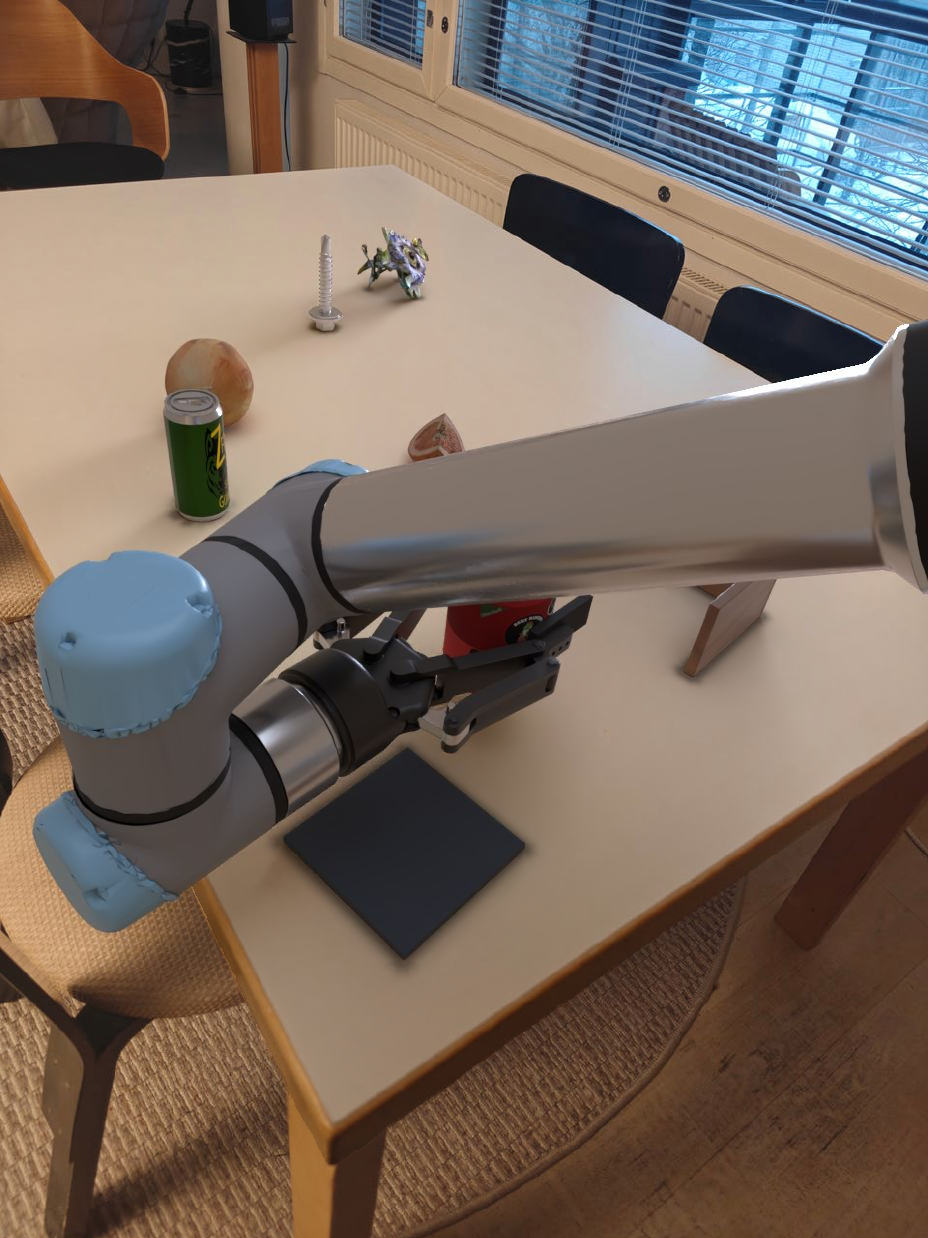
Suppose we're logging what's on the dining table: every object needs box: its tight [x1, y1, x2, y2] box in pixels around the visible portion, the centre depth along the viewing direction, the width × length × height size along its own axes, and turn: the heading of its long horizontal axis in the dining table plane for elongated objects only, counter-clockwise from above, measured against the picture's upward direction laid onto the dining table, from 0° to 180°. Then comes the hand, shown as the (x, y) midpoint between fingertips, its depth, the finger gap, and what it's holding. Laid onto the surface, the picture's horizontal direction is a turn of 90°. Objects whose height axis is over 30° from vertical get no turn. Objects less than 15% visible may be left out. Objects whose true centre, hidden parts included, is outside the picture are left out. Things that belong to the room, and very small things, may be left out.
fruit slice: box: [407, 412, 466, 462], centre depth 97 cm, size 8×7×5 cm
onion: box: [164, 337, 255, 427], centre depth 98 cm, size 10×10×10 cm
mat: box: [282, 746, 526, 960], centre depth 60 cm, size 12×12×1 cm
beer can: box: [162, 389, 231, 523], centre depth 84 cm, size 5×5×12 cm
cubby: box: [683, 579, 778, 678], centre depth 84 cm, size 24×13×8 cm, turn 47°
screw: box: [307, 234, 343, 332], centre depth 121 cm, size 13×5×5 cm
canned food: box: [442, 598, 557, 694], centre depth 63 cm, size 8×8×11 cm
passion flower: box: [356, 226, 430, 299], centre depth 136 cm, size 11×11×12 cm
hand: (541, 580), depth 66 cm, fingers closed on canned food, 8 cm apart
